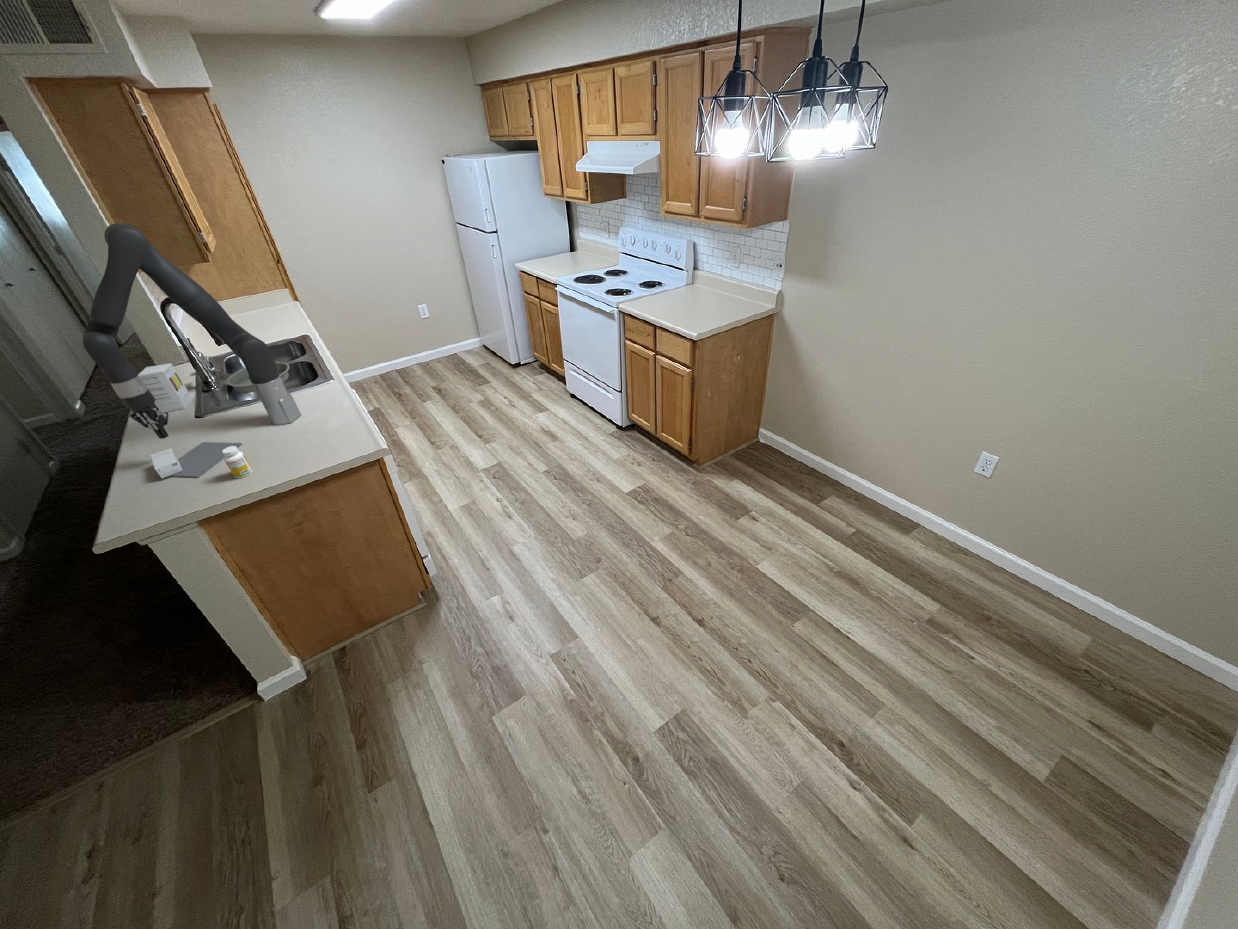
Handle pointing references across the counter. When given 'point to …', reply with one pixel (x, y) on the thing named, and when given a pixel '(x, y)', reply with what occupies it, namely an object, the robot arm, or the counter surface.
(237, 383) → the cake pan
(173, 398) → the supplement box
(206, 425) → the counter surface
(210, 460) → the rubber mat
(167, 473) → the skincare box
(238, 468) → the supplement bottle
